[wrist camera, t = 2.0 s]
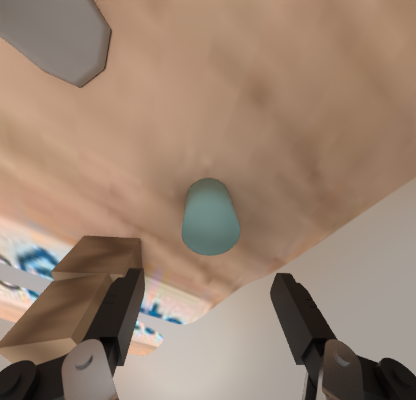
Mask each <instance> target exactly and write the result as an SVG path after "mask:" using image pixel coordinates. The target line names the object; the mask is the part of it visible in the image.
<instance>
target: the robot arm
mask: <svg viewBox="0 0 416 400" xmlns="http://www.w3.org/2000/svg"><path fill="white" fill-rule="evenodd" d="M144 291H145V281H144V269H143V268H129V269H128V271H127V273H126V276H125V277H118V278H117V279H116V280H115V281H114V282H113V283H112V284H111V285H110V287H109V289H108V291H107V293H106V296H105V297H104V299H103V301H102V304H101V305H100V307H99V309H98V311H97V313H96V315H95V317H94V319H93V321H92V323H91V325H90V327H89V329H88V331H87V333H86V335H85V337H84V338H83V340H82V341H81V342H80V343H79V344H78V345H77V346H75V347H74V348H73V349H72V350H71V351H70V352H69V353H67V354H65V355H64V356H61V357H59V358H56V359H53V360H50V361H47V362H44V363H41V364H38V365H35V364H34V362H32V361H30V360H22V361H18V362H16V363H13V364H11V365H10V366H8V367H6V368H5V369H3V370H2V371H1V372H0V400H119V398H118V395H117V392H116V389H115V385H114V382H113V376H114V373H115V369H116V366H124V362H125V359H126V355H127V352H128V348H129V345H130V342H131V338H132V335H133V331H134V328H135V324H136V321H137V317H138V314H139V311H140V307H141V304H142V300H143V297H144ZM270 295H271V300H272V303H273V306H274V308H275V311H276V313H277V316H278V318H279V321H280V324H281V326H282V329H283V331H284V334H285V337H286V339H287V342H288V344H289V347H290V349H291V352H292V355H293V357H294V360H295V362H296V365H305V367H306V369H307V372H306V377H305V382H304V389H303V396H302V400H416V376H415V375H414V374H413V373H412V372H411V371H410V370H409V369H408V368H406V367H405V366H404V365H402V364H401V363H399V362H398V361H396V360H394V359H391V358H383V359H382V360H381V361H380V362H379V363H377V362H374V361H372V360H368V359H366V358H363V357H360V356H358V355H356V354H355V353H354V352H353V351H352V349H350V348H349V347H348V346H347V345H346V344H344V343H343V342H341V341H338V340H337V338H336V337H335V335H334V333H333V332H332V330H331V329H330V327H329V325H328V324H327V322H326V320H325V319H324V317H323V315H322V314H321V312H320V310H319V309H318V308H317V305H316V304H315V302H314V301H313V299H312V297H311V296H310V294H309V293H308V291H307V290H306V289H305V288H304V287H303V286H302V285H301V284H300V283H296V281H295V279H294V278H293V276H292V275H291V274H290V273H277V274H276V276H275V279H274V282H273V284H272V287H271V291H270Z"/></svg>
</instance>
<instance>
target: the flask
mask: <svg viewBox="0 0 416 400" xmlns="http://www.w3.org/2000/svg"><path fill="white" fill-rule="evenodd" d="M110 32H111V29H110V28H109V26H108V24H107V23H106V21H105V20H104V18H103V16H102V15H101V13H100V11H99V10H98V8H97V6H96V5H95V3H94V2H93V0H0V37H1V38H2V39H4V40H5V41H6V42H8V43H9V44H10V45H12V46H13V47H14V48H16V49H17V50H18V51H19V52H20V53H22V54H23V55H24V56H25V57H27V58H28V59H29V60H30V61H31V62H33V63H34V64H35V65H36V66H38V67H39V68H40V69H41V70H43V71H44V72H46V73H48V74H50V75H53V76H55V77H57V78H59V79H61V80H64V81H66V82H68V83H70V84H73V85H75V86H77V87H79V88H80V87H81V86H83V85H84V84H85V83H87V82H88V81H89V80H90V79H92V78H93V77H94V76H96V75H97V74H98V73H100V72H101V71H102V70H104V67H105V61H106V55H107V49H108V44H109V38H110Z"/></svg>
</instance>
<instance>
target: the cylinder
mask: <svg viewBox="0 0 416 400" xmlns="http://www.w3.org/2000/svg"><path fill="white" fill-rule="evenodd" d="M239 236H240V226H239V223H238V220H237V217H236V214H235V211H234V208H233V205H232V202H231V199H230V196H229V193H228V190H227V188H226V187H225V185H224V184H223V183H221V182H220V181H218V180H216V179H212V178H205V179H201V180H198V181H196V182H195V183H194V184H193V185H192V186H191V187H190V189H189V191H188V194H187V200H186V206H185V213H184V219H183V225H182V238H183V241H184V243H185V244H186V245H187V247H188V248H189V249H191V250H192V251H194V252H196V253H198V254H201V255H208V256H212V255H219V254H222V253H224V252H226V251H228V250H230V249H231V248H232V247H233V246H234V245H235V244H236V242H237V241H238V239H239Z"/></svg>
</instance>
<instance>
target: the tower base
mask: <svg viewBox="0 0 416 400" xmlns="http://www.w3.org/2000/svg"><path fill="white" fill-rule="evenodd" d="M129 268H142V260H141V247H140V239H137V238H119V237H100V236H84V237H83V238H82V239H81V240H80V241H79V242H78V243H77V244H76V245H75V246H74V247H73V248H72V250H71V251H70V252H69V253H68V254H67V255H66V256H65V257H64V258H63V259H62V260H61V261H60V263H59V264H58V265H57V266H56V267H55V268H54V269H53V270H52V271H51V273H52V276H53V279H54V281H58V280H65V279H71V278H77V277H83V276H89V275H96V274H102V273H108V274H109V275H110V277H111V279H112V280H113V282H114V281H115V280H116V279H117V278H118V277H125V276H126V273H127V271H128V269H129Z"/></svg>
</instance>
